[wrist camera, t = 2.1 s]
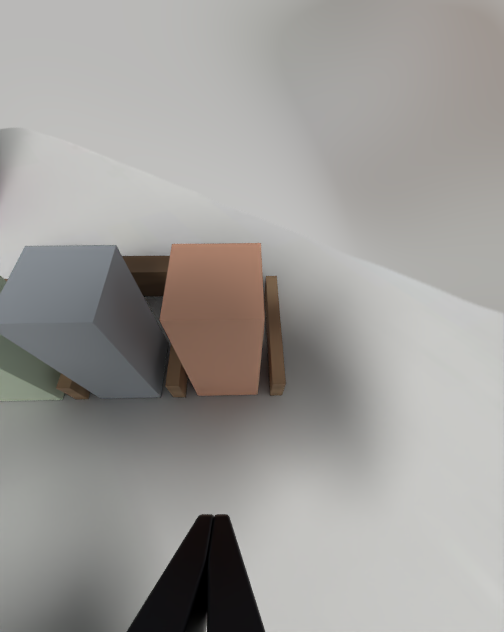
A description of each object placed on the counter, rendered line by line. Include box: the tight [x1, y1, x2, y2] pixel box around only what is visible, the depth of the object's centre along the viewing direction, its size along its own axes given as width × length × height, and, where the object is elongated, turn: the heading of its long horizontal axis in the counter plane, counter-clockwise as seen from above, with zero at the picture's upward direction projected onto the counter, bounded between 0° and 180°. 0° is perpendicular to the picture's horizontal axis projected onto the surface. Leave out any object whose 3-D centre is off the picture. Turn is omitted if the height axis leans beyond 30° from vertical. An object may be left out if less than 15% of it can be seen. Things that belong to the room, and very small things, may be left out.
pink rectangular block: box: [159, 243, 265, 396], centre depth 16 cm, size 4×4×10 cm
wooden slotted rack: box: [4, 256, 286, 399], centre depth 21 cm, size 10×20×3 cm, turn 91°
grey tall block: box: [0, 245, 168, 398], centre depth 16 cm, size 4×4×10 cm
